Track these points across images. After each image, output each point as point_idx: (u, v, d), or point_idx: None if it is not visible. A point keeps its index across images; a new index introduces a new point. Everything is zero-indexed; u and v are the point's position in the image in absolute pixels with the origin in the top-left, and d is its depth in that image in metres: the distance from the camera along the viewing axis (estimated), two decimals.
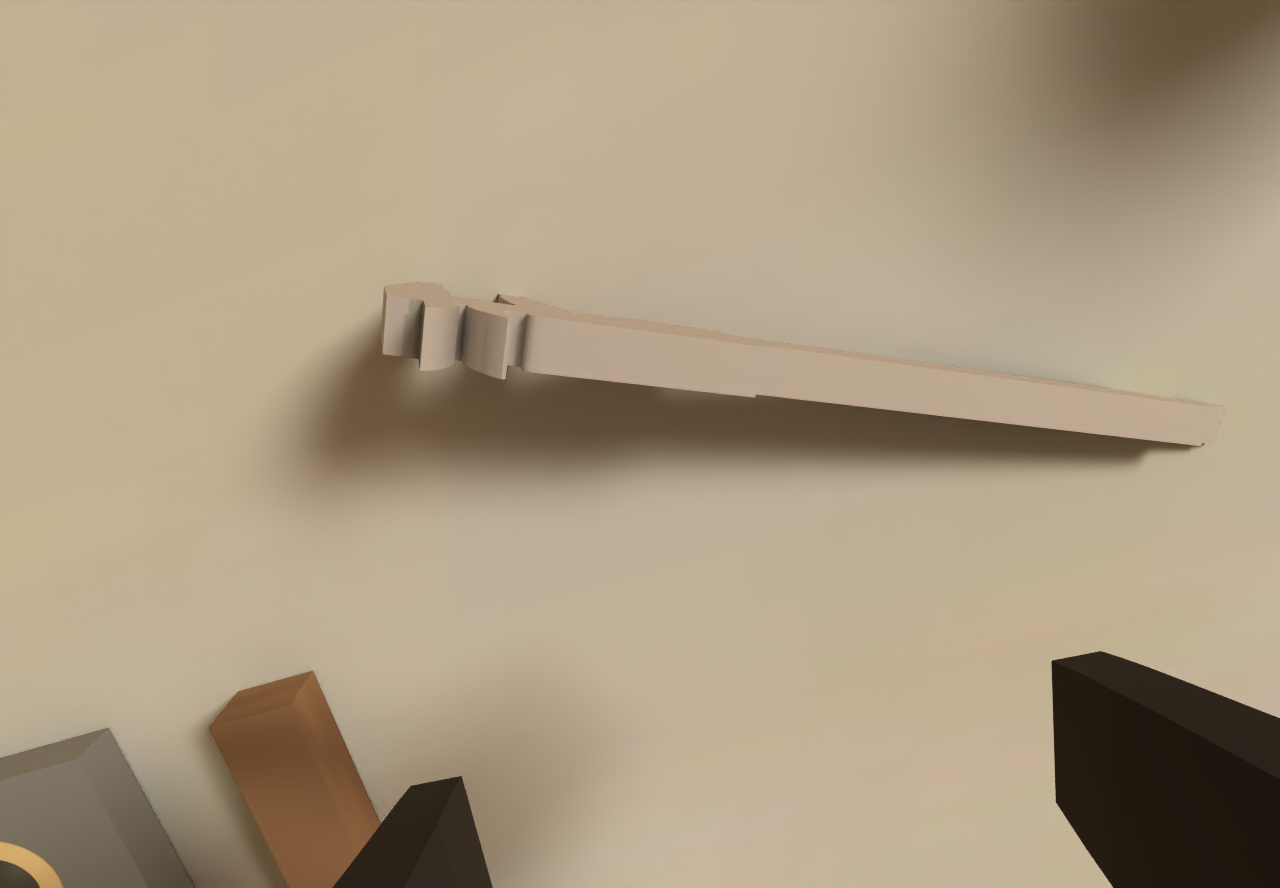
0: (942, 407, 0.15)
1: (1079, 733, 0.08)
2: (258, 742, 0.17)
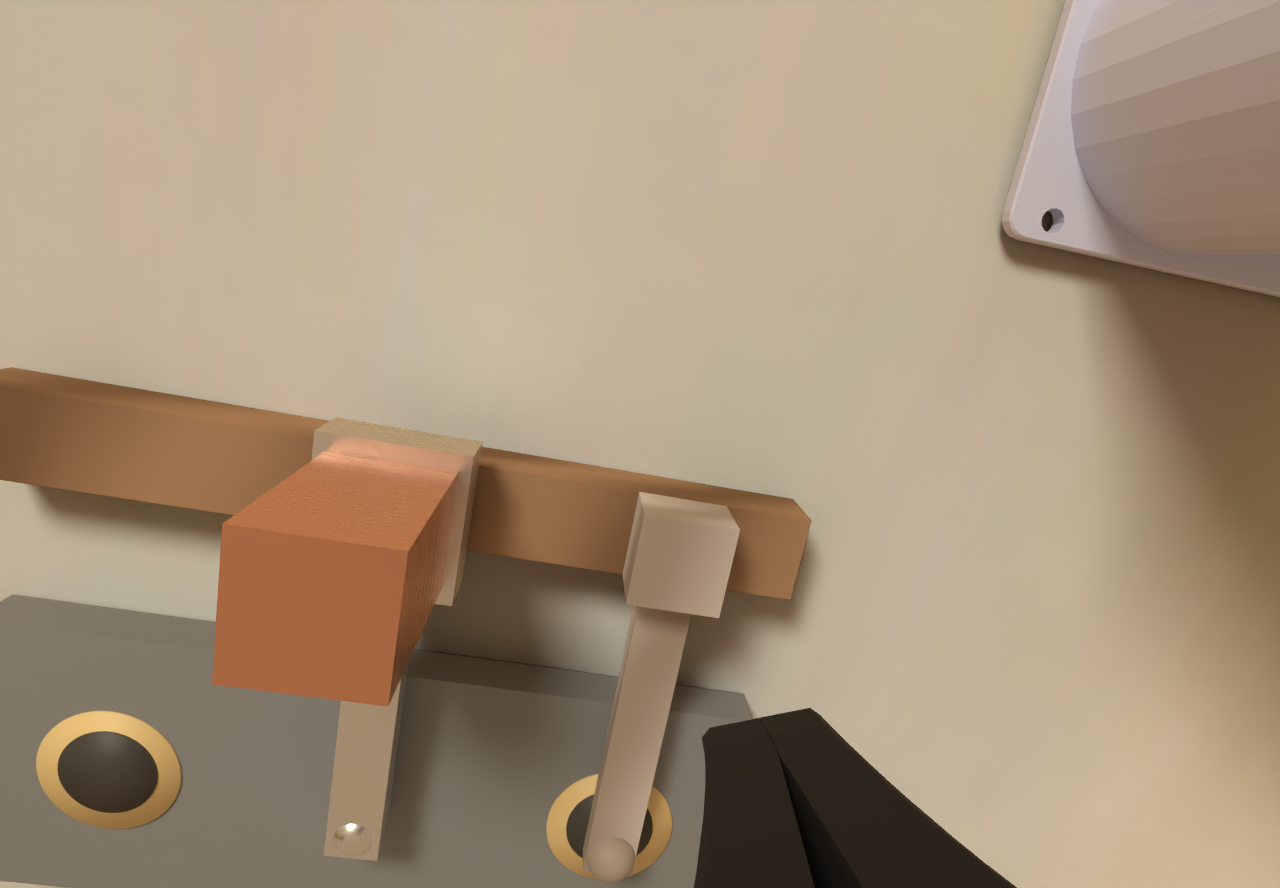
0: None
1: None
2: None
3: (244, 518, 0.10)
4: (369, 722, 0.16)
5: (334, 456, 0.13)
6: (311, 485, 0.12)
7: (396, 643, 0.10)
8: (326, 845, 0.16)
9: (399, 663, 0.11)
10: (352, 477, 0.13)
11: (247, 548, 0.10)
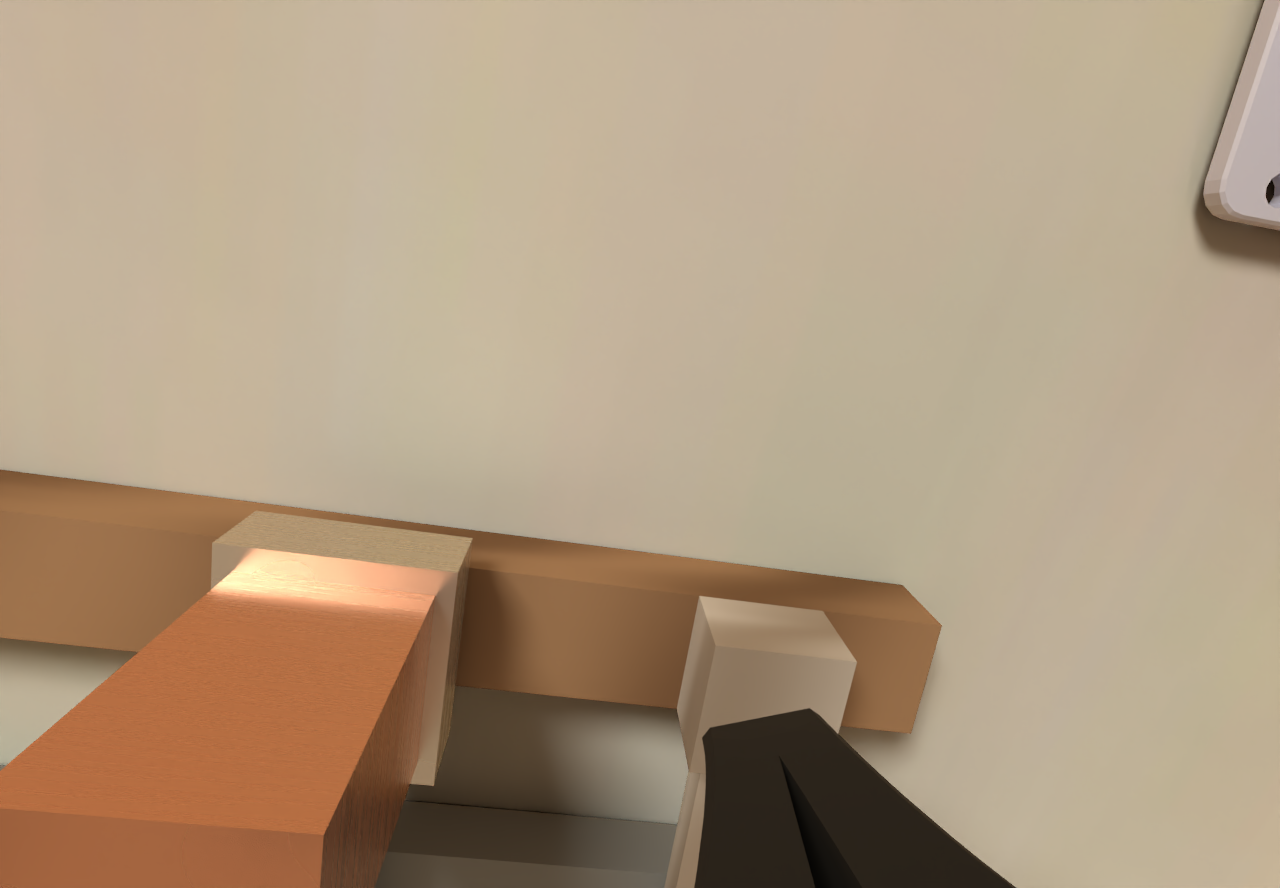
0: None
1: None
2: None
3: (16, 779, 0.05)
4: None
5: (243, 582, 0.09)
6: (182, 661, 0.07)
7: None
8: None
9: None
10: (260, 630, 0.08)
11: (15, 845, 0.05)
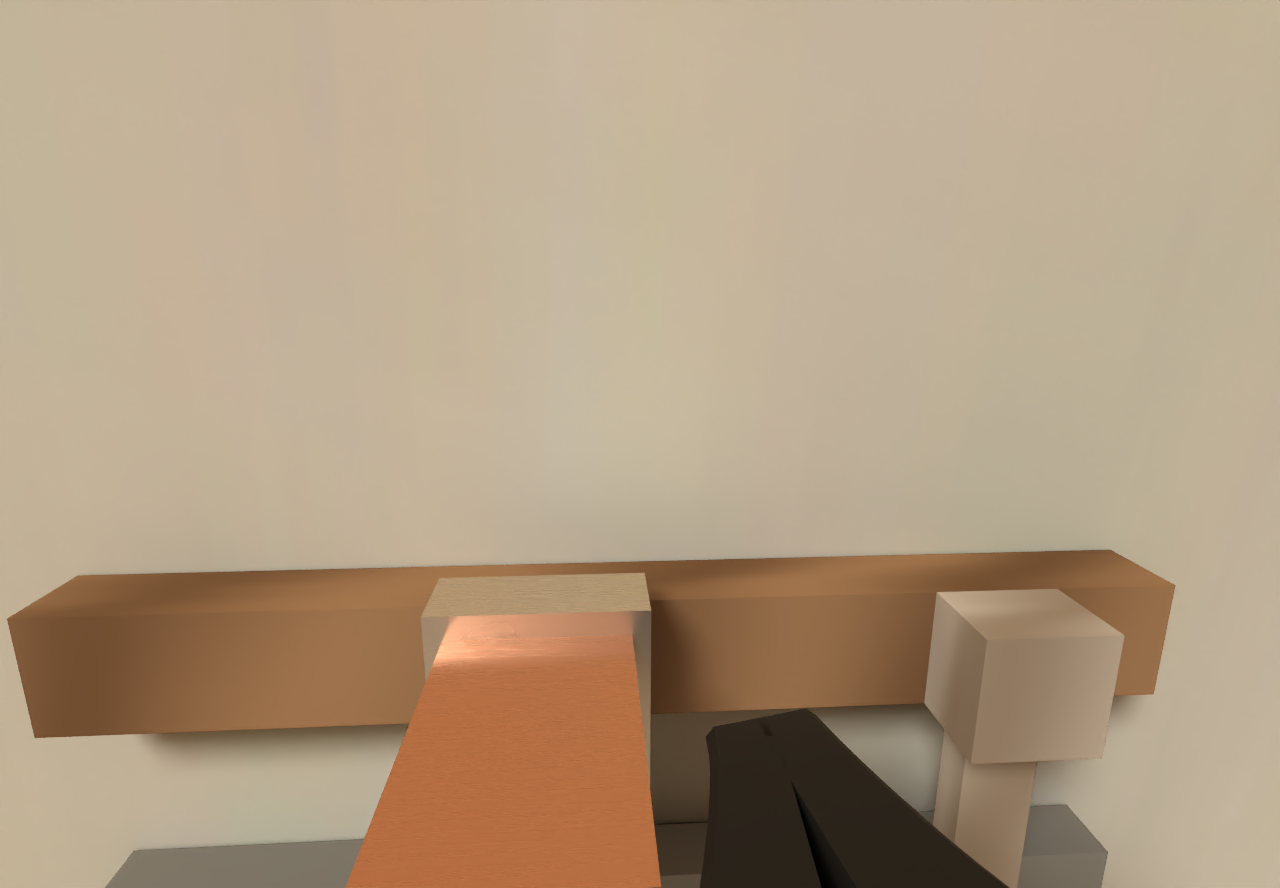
0: None
1: None
2: (73, 681, 0.11)
3: (371, 873, 0.06)
4: None
5: (457, 650, 0.09)
6: (448, 738, 0.07)
7: None
8: None
9: None
10: (498, 696, 0.08)
11: None
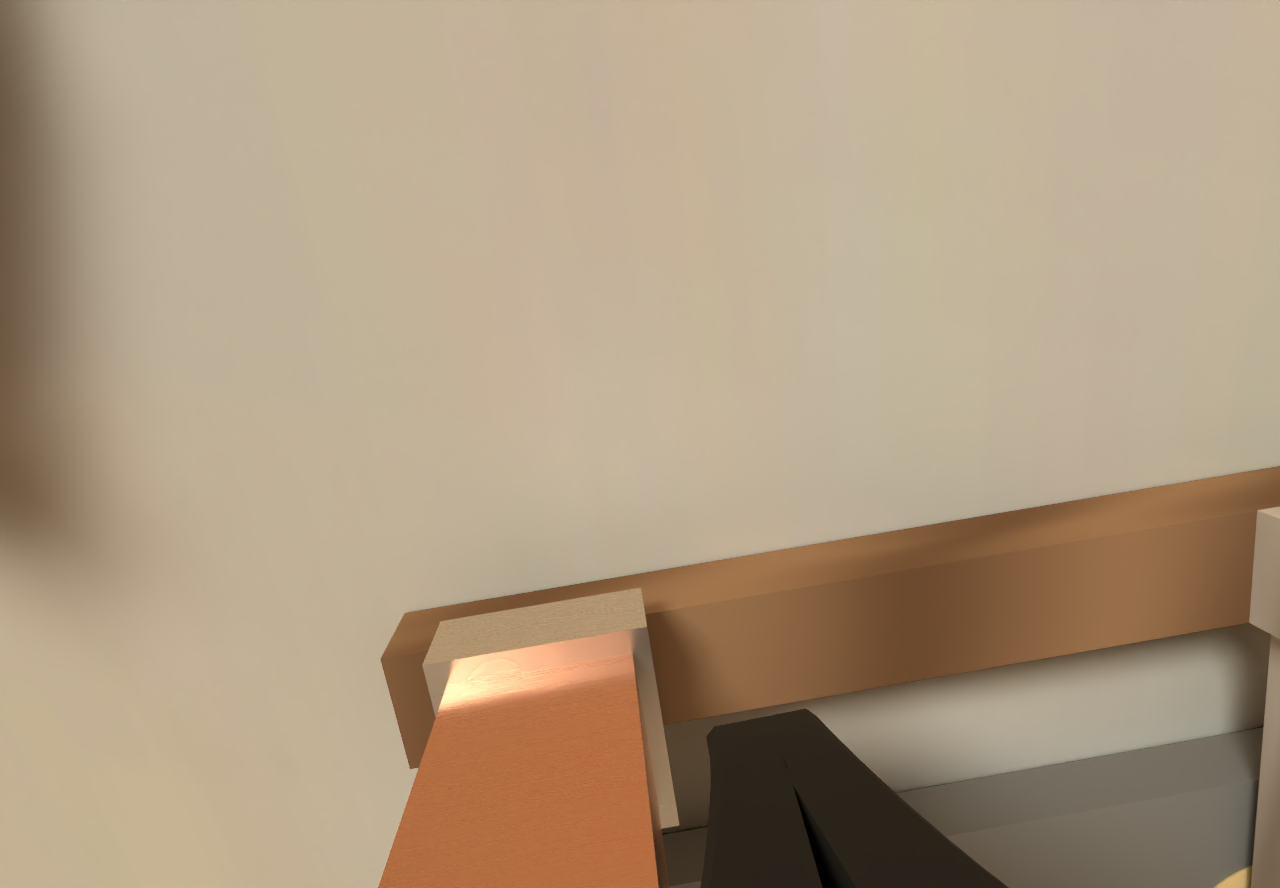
0: None
1: None
2: None
3: None
4: None
5: (462, 693, 0.09)
6: (453, 786, 0.08)
7: None
8: None
9: None
10: (502, 735, 0.08)
11: None
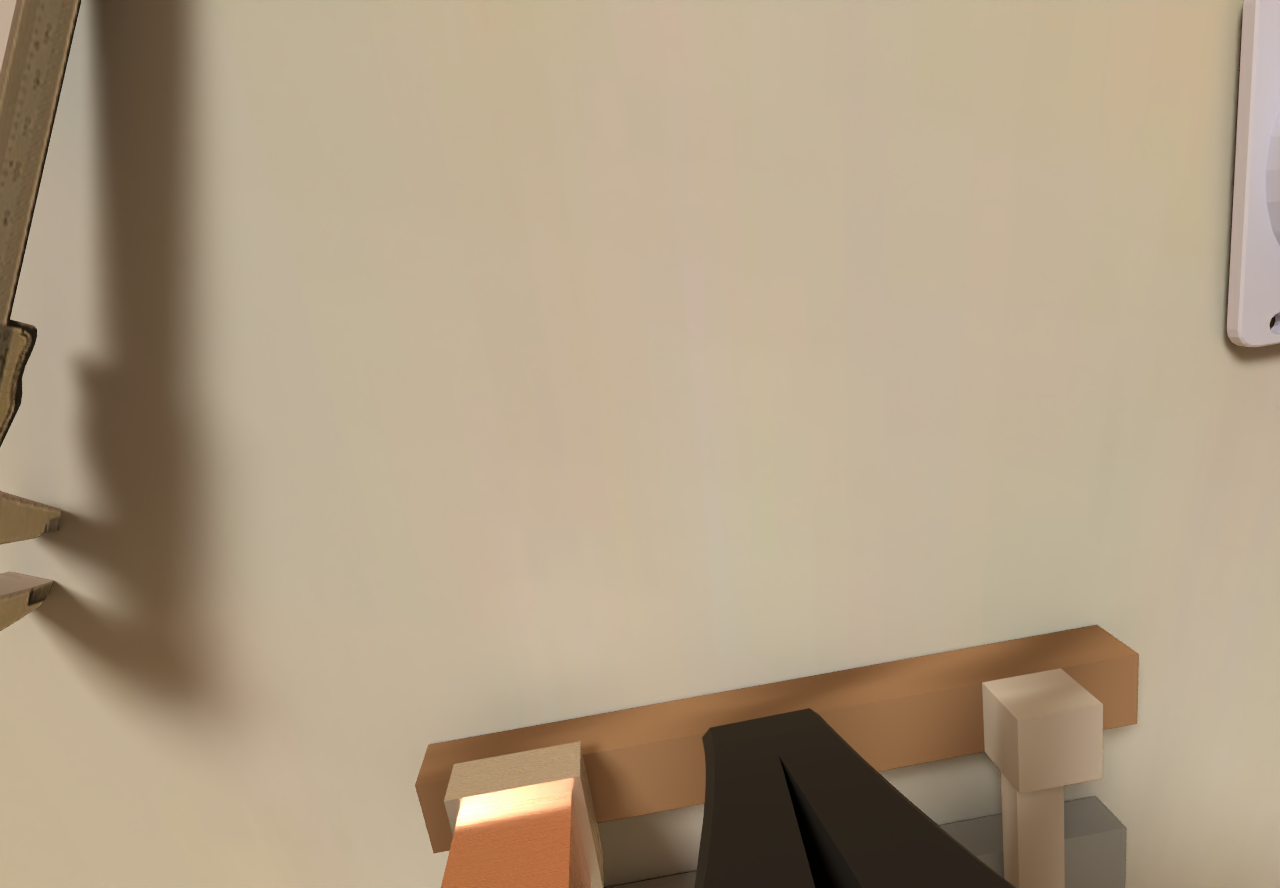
0: None
1: None
2: None
3: None
4: None
5: (468, 819, 0.15)
6: (464, 885, 0.14)
7: None
8: None
9: None
10: (491, 851, 0.14)
11: None
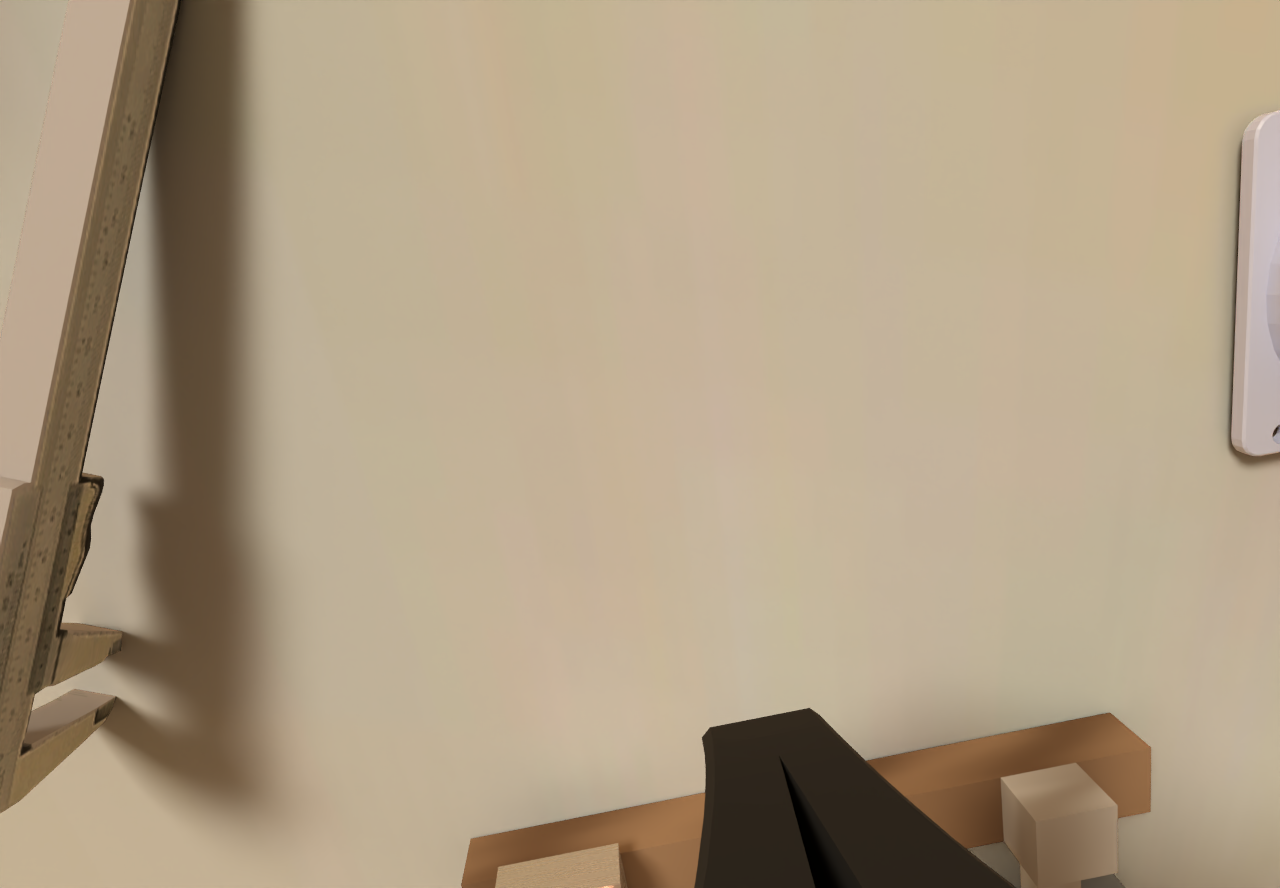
0: (69, 239, 0.13)
1: None
2: None
3: None
4: None
5: None
6: None
7: None
8: None
9: None
10: None
11: None
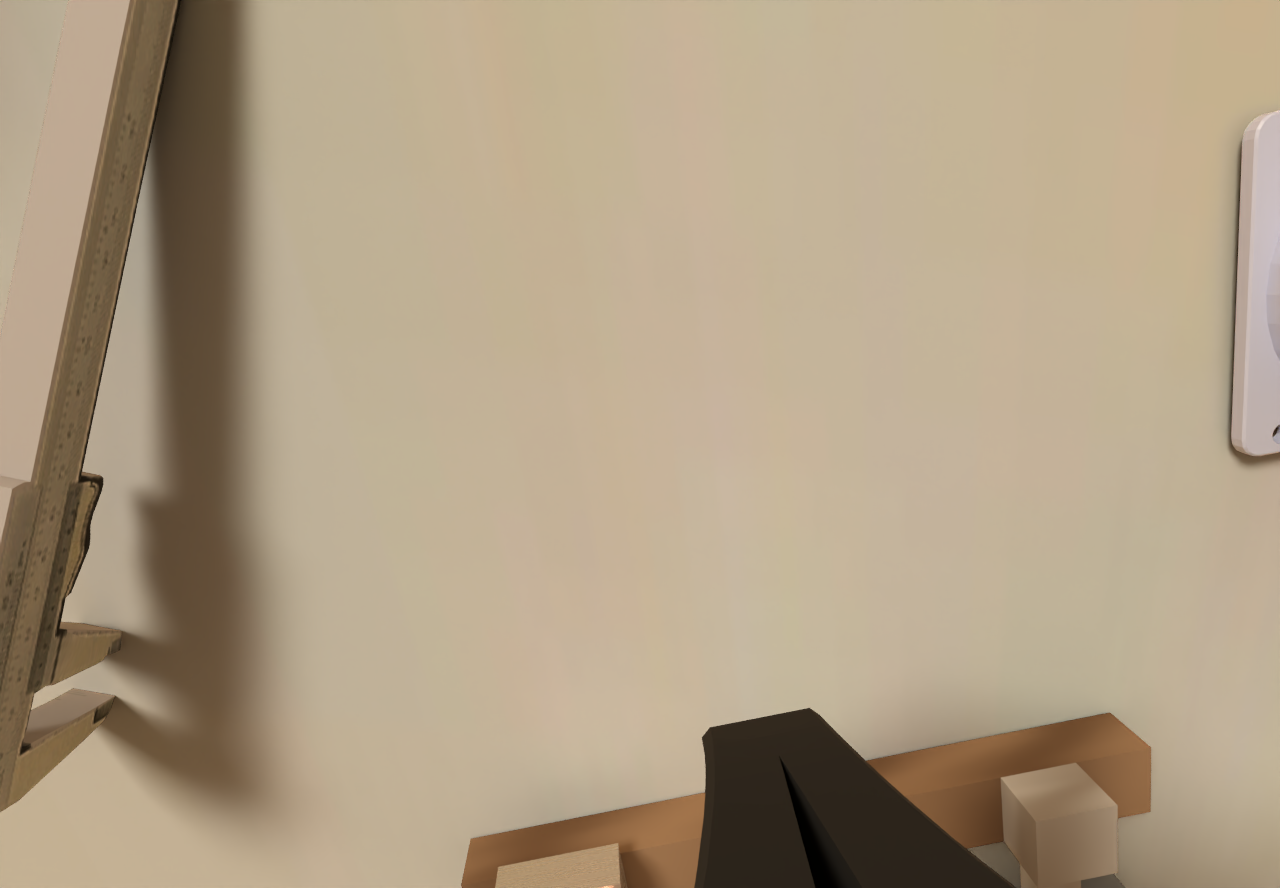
0: (69, 238, 0.13)
1: None
2: None
3: None
4: None
5: None
6: None
7: None
8: None
9: None
10: None
11: None
